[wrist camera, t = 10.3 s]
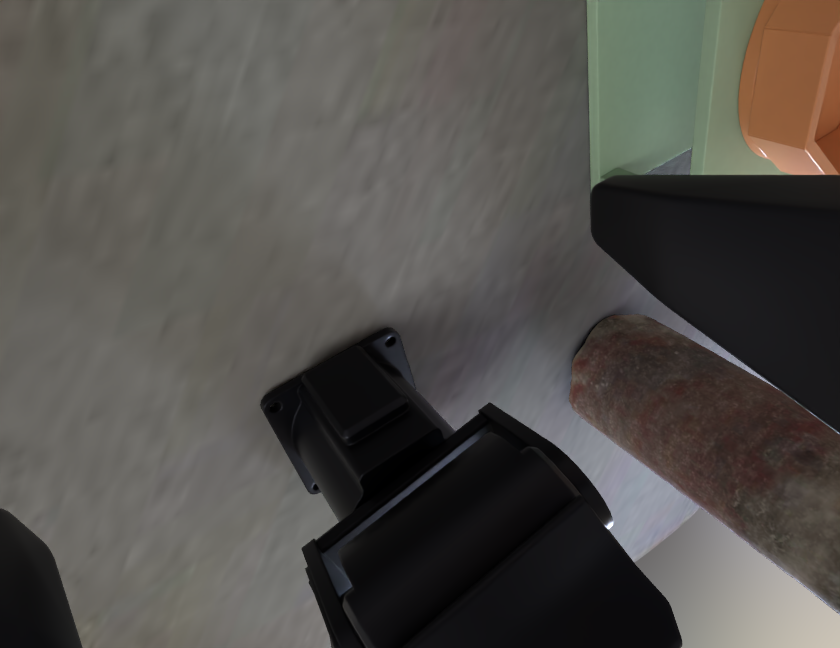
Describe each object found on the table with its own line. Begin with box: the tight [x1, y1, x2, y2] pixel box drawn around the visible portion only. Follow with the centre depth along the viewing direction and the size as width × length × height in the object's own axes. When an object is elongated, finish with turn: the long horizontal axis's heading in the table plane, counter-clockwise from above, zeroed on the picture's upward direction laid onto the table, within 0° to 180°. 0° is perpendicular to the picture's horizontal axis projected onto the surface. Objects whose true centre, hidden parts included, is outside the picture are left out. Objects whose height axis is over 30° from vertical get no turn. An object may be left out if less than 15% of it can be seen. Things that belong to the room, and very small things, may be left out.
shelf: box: [587, 0, 792, 191], centre depth 25 cm, size 12×12×6 cm
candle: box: [569, 314, 840, 614], centre depth 30 cm, size 8×7×20 cm
